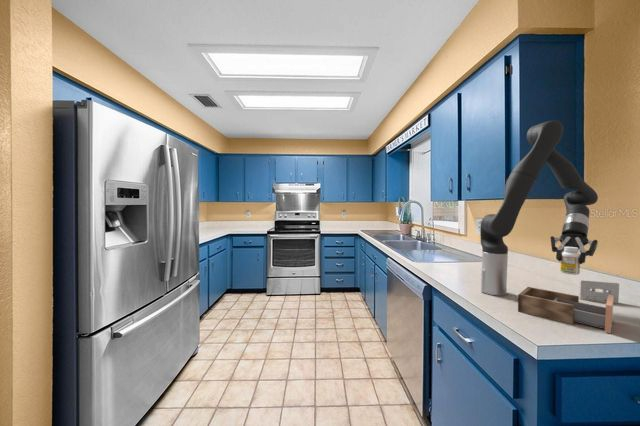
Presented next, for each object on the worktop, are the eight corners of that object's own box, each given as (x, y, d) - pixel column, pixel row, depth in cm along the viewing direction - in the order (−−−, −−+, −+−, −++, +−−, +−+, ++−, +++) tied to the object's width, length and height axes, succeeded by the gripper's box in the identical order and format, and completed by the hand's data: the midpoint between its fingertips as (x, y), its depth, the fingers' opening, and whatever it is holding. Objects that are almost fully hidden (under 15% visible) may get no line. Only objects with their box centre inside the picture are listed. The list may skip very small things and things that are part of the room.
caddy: (578, 313, 100) (578, 296, 100) (572, 324, 91) (573, 305, 91) (527, 302, 111) (527, 286, 111) (517, 311, 102) (518, 294, 101)
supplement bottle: (570, 271, 110) (571, 246, 110) (583, 275, 105) (585, 248, 105) (556, 271, 110) (557, 246, 110) (569, 275, 105) (570, 248, 104)
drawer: (612, 319, 94) (613, 295, 94) (610, 332, 84) (611, 306, 84) (556, 307, 105) (557, 285, 104) (548, 318, 95) (549, 294, 95)
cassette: (580, 300, 114) (581, 280, 114) (578, 298, 116) (579, 279, 116) (619, 303, 110) (620, 283, 110) (616, 302, 112) (617, 282, 112)
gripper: (551, 219, 117) (544, 252, 109) (600, 222, 107) (596, 258, 99) (552, 231, 121) (546, 264, 113) (600, 235, 110) (596, 271, 103)
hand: (569, 261), depth 106 cm, fingers closed on supplement bottle, 5 cm apart
